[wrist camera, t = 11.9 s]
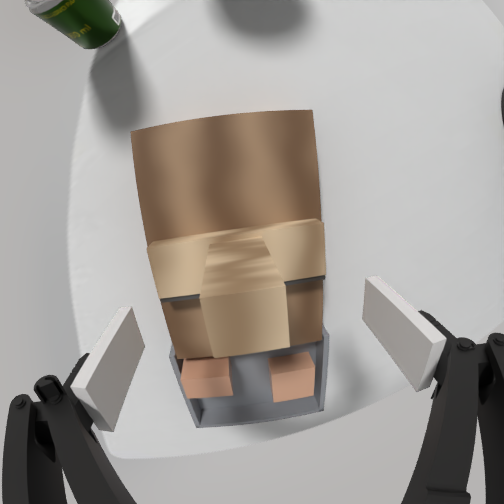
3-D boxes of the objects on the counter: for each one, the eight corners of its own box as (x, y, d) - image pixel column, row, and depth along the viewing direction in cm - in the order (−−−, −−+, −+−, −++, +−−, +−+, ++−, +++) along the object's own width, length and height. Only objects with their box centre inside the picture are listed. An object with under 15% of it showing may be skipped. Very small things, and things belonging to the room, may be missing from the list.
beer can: (118, 5, 18) (77, -50, 7) (128, 34, 20) (82, -21, 8) (77, 29, 18) (22, -12, 7) (85, 60, 20) (23, 21, 8)
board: (300, 117, 24) (312, 109, 21) (311, 320, 31) (321, 340, 27) (143, 135, 24) (130, 131, 20) (181, 337, 30) (177, 359, 27)
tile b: (229, 376, 26) (233, 395, 27) (228, 346, 31) (231, 366, 31) (180, 379, 26) (187, 398, 26) (185, 350, 30) (190, 369, 31)
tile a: (313, 395, 31) (307, 379, 33) (315, 366, 29) (308, 351, 32) (273, 402, 30) (270, 386, 33) (271, 374, 29) (267, 358, 32)
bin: (319, 319, 31) (329, 335, 28) (316, 393, 35) (323, 410, 32) (173, 338, 30) (169, 356, 27) (197, 409, 34) (196, 427, 31)
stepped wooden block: (316, 218, 23) (380, 261, 13) (318, 271, 25) (373, 340, 14) (152, 241, 23) (102, 301, 12) (165, 293, 24) (132, 375, 14)
